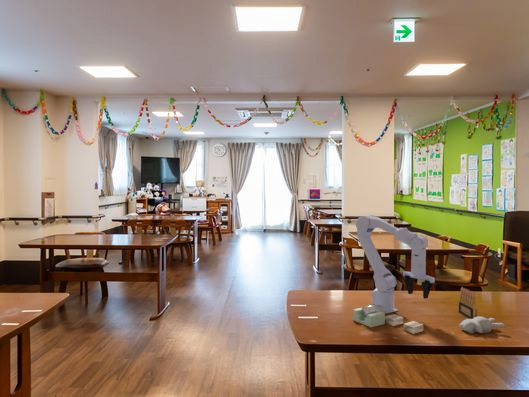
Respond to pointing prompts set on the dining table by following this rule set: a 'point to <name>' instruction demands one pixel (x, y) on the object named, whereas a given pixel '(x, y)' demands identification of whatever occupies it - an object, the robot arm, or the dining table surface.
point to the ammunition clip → (467, 304)
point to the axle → (371, 309)
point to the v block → (369, 318)
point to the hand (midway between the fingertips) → (417, 295)
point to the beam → (409, 327)
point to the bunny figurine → (479, 325)
